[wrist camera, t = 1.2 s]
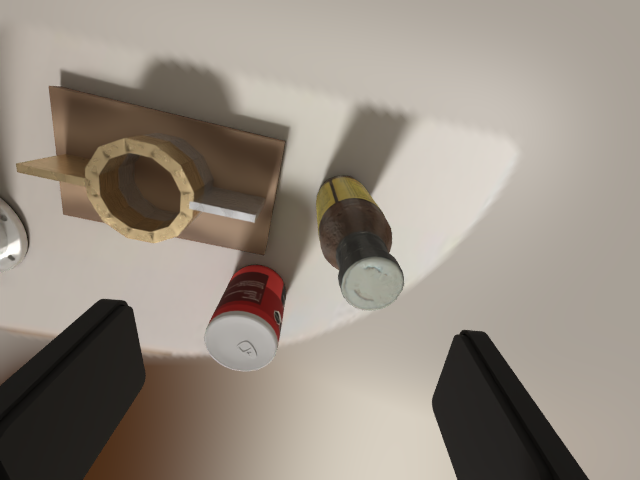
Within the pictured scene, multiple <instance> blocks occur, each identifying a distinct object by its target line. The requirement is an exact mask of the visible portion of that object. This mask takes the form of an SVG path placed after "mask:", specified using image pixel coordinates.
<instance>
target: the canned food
mask: <svg viewBox="0 0 640 480" xmlns="http://www.w3.org/2000/svg"><path fill="white" fill-rule="evenodd" d="M285 300H286V288H285V285H284V283H283V280H282V279H281V277H280V276H279V275H278V274H277V273H276V272H275V271H274V270H272V269H270V268H268V267H265V266H262V265H250V266H246V267H244V268H242V269H240V270H239V271H237V272H236V273H235V274H234V275H233V277H232V278H231V280H230V282H229V284H228V286H227V288H226V290H225V292H224V294H223V296H222V298H221V300H220V302H219V304H218V306H217V308H216V310H215V312H214V314H213V316H212V318H211V320H210V322H209V324H208V326H207V328H206V332H205V336H204V342H205V346H206V349H207V351H208V353H209V354H210V355H211V357H212V358H213V359H214V360H216V361H217V362H218V363H219V364H221V365H223V366H225V367H227V368H230V369H233V370H237V371H254V370H258V369H261V368H263V367H265V366H266V365H268V364H269V363H270V362H271V361H272V360H273V358H274V357H275V354H276V351H277V348H278V342H279V337H280V331H281V325H282V319H283V312H284V306H285Z"/></svg>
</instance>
